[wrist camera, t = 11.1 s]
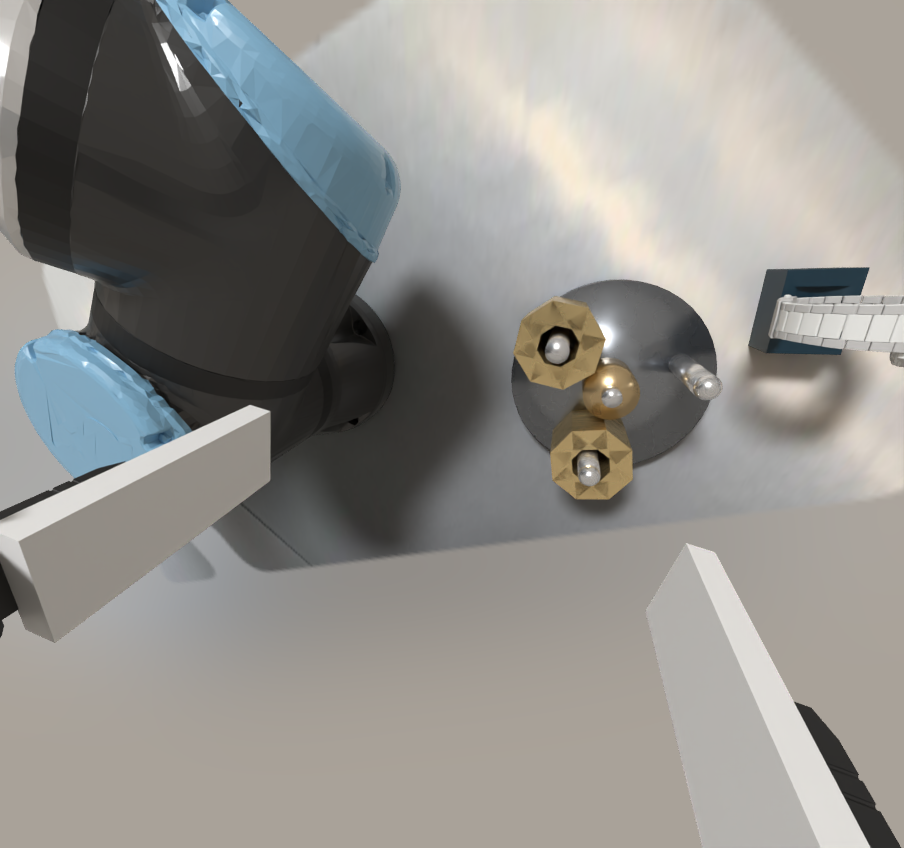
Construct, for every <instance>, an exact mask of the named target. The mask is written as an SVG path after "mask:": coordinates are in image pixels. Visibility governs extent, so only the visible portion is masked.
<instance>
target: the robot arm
mask: <svg viewBox="0 0 904 848" xmlns="http://www.w3.org/2000/svg"><path fill="white" fill-rule="evenodd" d="M400 190H401V184H400V177H399V173H398V170H397V167H396V164H395V163H394V161H393V159H392V158H391V156H390V155H389V153H388V152H387V151H386V150H385V149H384V148H383V147H382V146H381V145H380V144H379V143H378V142H377V141H376V140H375V139H374V138H373V137H372V136H371V135H370V134H369V133H368V132H367V131H365V130H364V129H363V128H362V127H361V126H360V125H359V124H358V123H357V122H356V121H355V120H354V119H353V118H352V117H351V116H350V115H349V114H348V113H347V112H346V111H344V110H343V109H342V108H341V107H340V106H339V105H338V104H337V103H336V102H335V101H334V100H333V99H332V98H331V97H330V96H329V95H328V94H327V93H326V92H324V91H323V90H322V89H321V88H320V87H319V86H318V85H317V84H316V83H315V82H314V81H313V80H312V79H311V78H310V77H309V76H308V75H307V74H306V73H304V72H303V71H302V70H301V69H300V68H299V67H298V66H297V65H296V64H295V63H294V62H293V61H292V60H291V59H290V58H288V57H287V56H286V55H285V54H284V53H283V52H282V51H281V50H280V49H279V48H278V47H277V46H276V45H274V43H272V42H271V41H270V40H269V39H268V38H267V37H266V36H265V35H264V34H263V33H262V32H261V31H260V30H259V29H258V28H257V27H256V26H254V25H253V24H252V23H251V22H250V21H249V20H248V19H247V18H246V17H245V16H244V15H243V14H242V13H240V12H239V11H238V10H237V9H236V8H235V7H234V6H233V5H232V4H231V3H230V2H229V1H228V0H0V231H1V233H2V234H3V235H4V236H5V237H6V238H7V240H8V241H9V242H10V243H11V244H12V245H13V246H14V248H15V249H16V250H17V251H18V252H19V253H20V254H21V255H23V256H25V257H28V258H30V259H33V260H34V261H38V262H41V263H45V264H48V265H51V266H54V267H57V268H60V269H64V270H67V271H70V272H73V273H76V274H78V275H81V276H84V277H88V278H91V279H93V280H95V287H94V293H93V300H92V305H91V311H90V317H89V322H88V325H87V326H86V327H85V328H84V329H82V330H80V331H73V330H62V329H61V330H58V329H57V330H52V331H51V332H50V333H49V334H48V335H47V336H44V337H41V338H39V339H35V340H31V341H30V342H28V343H26V344H25V345H24V346H23V347H22V348H21V349H20V351H19V353H18V355H17V359H16V363H15V378H16V385H17V389H18V393H19V396H20V399H21V402H22V404H23V406H24V409H25V411H26V413H27V415H28V417H29V419H30V421H31V423H32V424H33V426H34V428H35V430H36V431H37V433H38V435H39V436H40V438H41V439H42V440H43V442H44V443H45V445H46V446H47V447H48V449H49V450H50V452H51V453H52V454H53V455H54V457H55V458H56V459H57V460H58V462H59V463H60V464H61V465H62V466H63V467H64V468H65V469H66V470H67V471H68V472H69V473H70V474H71V475H72V476H73V477H74V478H75V479H74V480H73V481H72V482H70V481H68V482H66V483H63V484H61V485H59V486H57V487H54V488H53V490H52V491H49V490H48V491H46V492H43V493H41V494H39V495H36V496H34V497H32V498H30V499H28V500H25V501H23V502H21V503H18V504H16V505H14V506H12V507H10V508H7V509H5V510H3V511H1V512H0V637H1V636H2V632H3V628H4V624H3V622H2V620H3V619H4V618H6V617H7V616H9V615H10V614H12V613H13V612H15V611H17V610H18V612H19V614H20V617H21V619H22V622H23V624H24V627H25V629H26V630H28V631H30V632H32V633H35V634H37V635H39V636H41V637H43V638H45V639H48V640H50V641H52V642H54V643H55V642H57V641H58V640H59V639H61V638H62V637H63V636H65V635H66V634H67V633H69V632H70V631H71V630H73V629H74V628H75V627H77V626H78V625H79V624H81V623H82V622H83V621H85V620H86V619H87V618H88V617H90V616H91V615H93V614H94V613H95V612H97V611H98V610H99V609H101V608H102V607H103V606H105V605H106V604H107V603H108V602H110V601H111V600H112V599H114V598H115V597H116V596H118V595H119V594H121V593H122V592H123V591H125V590H126V589H127V588H128V587H129V586H131V585H132V584H134V583H135V582H136V581H138V580H139V579H140V578H142V577H143V576H144V575H146V574H147V573H148V572H150V571H151V570H152V569H154V568H155V567H156V566H158V565H159V564H160V563H162V562H163V561H164V560H166V559H167V558H168V557H170V556H171V555H172V554H174V553H175V552H176V551H178V550H179V549H180V548H182V547H183V546H184V545H186V544H187V543H188V542H190V541H191V540H192V539H194V538H195V537H196V536H198V535H199V534H200V533H201V532H203V531H204V530H206V529H207V528H208V527H210V526H211V525H212V524H213V523H215V522H216V521H217V520H219V519H220V518H221V517H223V516H224V515H225V514H227V513H228V512H229V511H231V510H232V509H233V508H235V507H236V506H237V505H239V504H240V503H241V502H243V501H244V500H245V499H247V498H248V497H249V496H251V495H252V494H253V493H255V492H256V491H257V490H259V489H260V488H261V487H263V486H264V485H265V484H267V483H268V482H269V481H270V463H271V462H272V461H274V460H275V459H277V458H278V457H280V456H281V455H283V454H284V453H286V452H287V451H289V450H290V449H292V448H293V447H295V446H296V445H298V444H300V443H301V442H303V441H304V440H305V439H307V438H308V437H310V436H312V435H320V434H328V433H335V432H342V431H346V430H349V429H352V428H354V427H357V426H359V425H360V424H362V423H363V422H365V421H366V420H368V419H369V418H370V417H372V416H373V415H374V414H375V413H376V412H378V410H379V409H380V408H381V407H382V406H383V404H384V403H385V401H386V400H387V398H388V396H389V393H390V391H391V388H392V384H393V379H394V355H393V350H392V346H391V342H390V339H389V337H388V334H387V332H386V330H385V328H384V326H383V324H382V322H381V321H380V319H379V318H378V316H377V315H376V313H375V312H374V311H373V310H372V309H371V307H370V306H369V305H368V304H367V303H366V302H364V301H363V300H362V299H361V298H360V297H358V296H357V295H356V292H357V290H358V288H359V286H360V284H361V282H362V280H363V278H364V277H365V275H366V273H367V271H368V269H369V267H370V265H371V263H372V262H373V263H375V262H376V260H377V258H378V255H379V253H378V248H379V246H380V243H381V241H382V238H383V236H384V234H385V231H386V229H387V227H388V224H389V222H390V220H391V218H392V216H393V213H394V211H395V209H396V207H397V204H398V201H399V197H400ZM646 615H647V619H648V623H649V627H650V632H651V636H652V640H653V644H654V648H655V652H656V657H657V661H658V665H659V669H660V673H661V677H662V681H663V686H664V690H665V694H666V698H667V702H668V707H669V711H670V715H671V719H672V723H673V727H674V732H675V735H676V740H677V744H678V748H679V752H680V757H681V760H682V765H683V769H684V773H685V777H686V781H687V786H688V790H689V794H690V798H691V802H692V807H693V811H694V815H695V819H696V823H697V827H698V832H699V836H700V840H701V844H702V848H901V847H900V845H899V843H898V841H897V840H896V838H895V836H894V834H893V833H892V831H891V829H890V828H889V826H888V824H887V822H886V821H885V819H884V817H883V815H882V814H881V812H880V811H877V810H876V808H875V802H874V800H873V798H872V797H871V795H870V793H869V792H868V790H867V788H866V786H865V784H864V783H863V782H862V781H860V780H859V779H858V775H859V774H858V772H857V771H856V769H855V767H854V765H853V764H852V762H851V760H850V759H849V757H848V755H847V754H846V752H845V750H844V748H843V746H842V745H841V743H840V741H839V740H838V739H837V737H836V736H835V735H834V734H833V733H832V732H831V730H830V729H829V728H828V727H827V726H826V724H825V723H824V722H823V721H822V720H821V719H820V717H819V716H818V715H817V714H816V713H815V712H814V710H813V709H812V708H810V707H807V706H805V705H802V704H799V703H796V702H794V701H793V700H792V698H791V696H790V694H789V692H788V690H787V688H786V686H785V684H784V682H783V681H782V679H781V677H780V675H779V673H778V671H777V669H776V667H775V666H774V664H773V662H772V660H771V658H770V656H769V654H768V652H767V650H766V648H765V646H764V644H763V643H762V641H761V639H760V637H759V635H758V633H757V631H756V629H755V628H754V626H753V624H752V622H751V620H750V618H749V616H748V614H747V612H746V610H745V608H744V607H743V605H742V603H741V601H740V599H739V597H738V595H737V593H736V591H735V590H734V588H733V586H732V584H731V582H730V580H729V578H728V576H727V574H726V572H725V570H724V569H723V567H722V565H721V563H720V561H719V559H718V557H717V555H716V553H715V552H712V551H709V550H706V549H703V548H700V547H696V546H693V545H690V544H687V543H686V544H685V546H684V548H683V549H682V551H681V553H680V554H679V556H678V558H677V559H676V561H675V563H674V564H673V566H672V568H671V569H670V571H669V573H668V574H667V576H666V578H665V579H664V581H663V583H662V584H661V586H660V588H659V589H658V591H657V593H656V594H655V596H654V598H653V599H652V601H651V603H650V604H649V606H648V608H647V609H646Z"/></svg>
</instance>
